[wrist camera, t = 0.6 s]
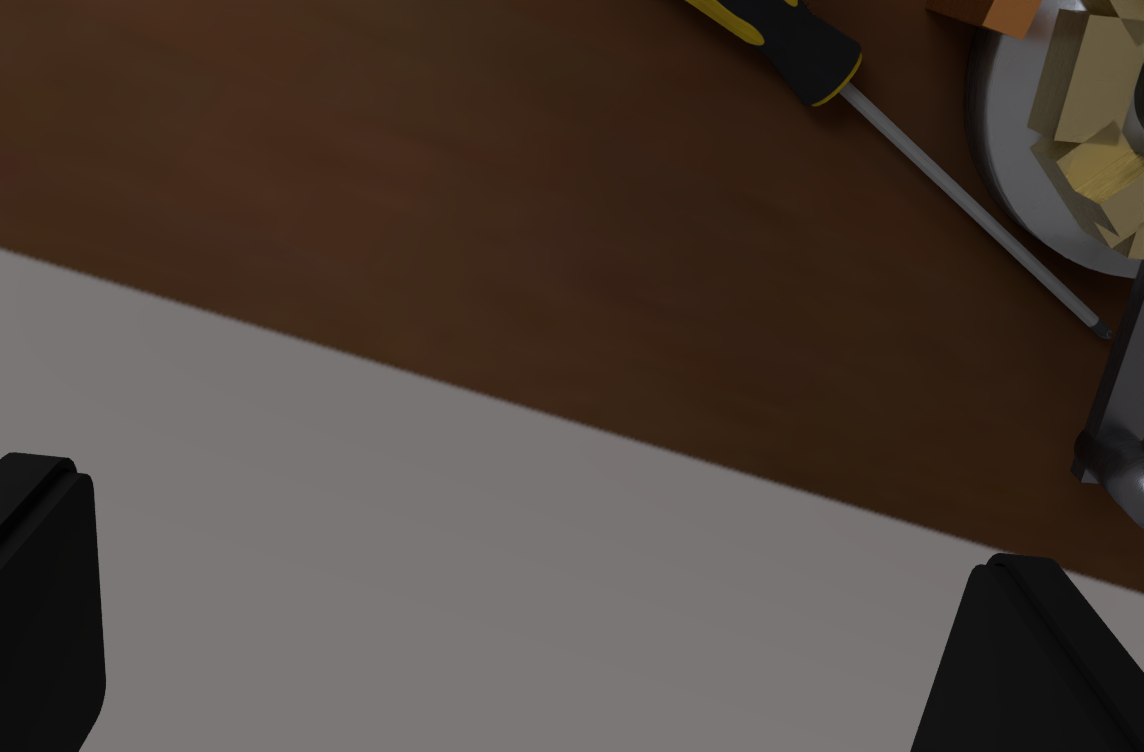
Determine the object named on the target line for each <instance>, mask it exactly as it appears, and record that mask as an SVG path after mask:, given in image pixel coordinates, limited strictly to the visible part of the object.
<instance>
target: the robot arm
mask: <svg viewBox="0 0 1144 752" xmlns="http://www.w3.org/2000/svg"><path fill="white" fill-rule="evenodd" d="M105 689H106V673H105V658H104V643H103V627H102V611H101V596H100V580H99V563H98V548H97V532H96V516H95V502H94V488H93V482H92V479H91V477H90V476H89V475H88V474H83V473H77V470H76V467H75V464H74V462H73V461H72V460H71V459H70V458H65V457H55V456H45V455H35V454H26V453H16V452H15V453H8V454H7V455H5V456H4V457H2V458H1V459H0V752H79V750H80V748H81V746H82V745H83V743H84V741H85V739H86V738H87V736H88V734H89V732H90V731H91V729H92V727H93V725H94V724H95V722H96V720H97V718H98V716H99V714H100V711H101V707H102V705H103V701H104V696H105ZM910 752H1144V672H1143V671H1142V670H1141V669H1140V667H1139V666H1138V665H1137V664H1136V662H1135V661H1134V660H1133V658H1132V657H1131V656H1130V655H1129V654H1128V652H1127V651H1126V650H1125V648H1124V647H1123V646H1122V644H1121V643H1120V642H1119V641H1118V639H1117V638H1116V637H1115V636H1114V634H1113V633H1112V632H1111V631H1110V629H1109V628H1108V627H1107V625H1106V624H1105V623H1104V622H1103V621H1102V619H1101V618H1100V617H1099V615H1098V614H1097V613H1096V612H1095V610H1094V609H1093V608H1092V607H1091V605H1090V604H1089V603H1088V601H1087V600H1086V599H1085V598H1084V596H1083V595H1082V594H1081V593H1080V591H1079V590H1078V589H1077V588H1076V586H1075V585H1074V584H1073V583H1072V581H1071V580H1070V579H1069V577H1068V576H1067V575H1066V574H1065V572H1064V571H1063V570H1062V569H1061V567H1060V566H1059V565H1058V564H1057V563H1056V562H1055V561H1054V560H1053V559H1049V558H1044V557H1034V556H1024V555H1014V554H1005V553H997V554H995V555H993V556H992V557H991V558H990V559H989V560H988V562H987V564H986V565H982V564H980V565H977V566H975V568H974V569H973V570H972V572H971V574H970V576H969V578H968V581H967V584H966V588H965V590H964V593H963V596H962V599H961V602H960V606H959V608H958V612H957V614H956V617H955V620H954V623H953V626H952V629H951V632H950V635H949V638H948V641H947V644H946V647H945V650H944V653H943V656H942V659H941V662H940V665H939V668H938V671H937V674H936V677H935V680H934V683H933V686H932V689H931V692H930V695H929V698H928V700H927V703H926V706H925V709H924V712H923V715H922V718H921V721H920V725H919V727H918V731H917V733H916V736H915V739H914V742H913V745H912V748H911V751H910Z"/></svg>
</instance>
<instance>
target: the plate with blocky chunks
mask: <svg viewBox="0 0 1144 752" xmlns="http://www.w3.org/2000/svg"><path fill="white" fill-rule="evenodd" d="M1059 8H1062V9H1072V10H1082V11H1087V9H1086V7H1085V6H1084V4H1083V2H1082V1H1081V0H929V1H928V4H927V6H926V9H929V10H931V11H934V12H937V13H939V14H942V15H945V16H948V17H950V18H953V19H956V20H958V21H961V22H965V23H968V24H971V25H974V26H978V28H977V31H976V34H975V37H974V41H973V44H972V47H971V50H970V54H969V59H968V65H967V70H966V76H965V85H964V103H963V107H964V120H965V131H966V135H967V140H968V144H969V149H970V153H971V156H972V159H973V161H974V164H975V167H976V169H977V172H978V174H979V176H980V178H981V180H982V181H983V183H984V185H985V187H986V189H987V190H988V192H989V194H990V195H991V196H992V198H993V199H994V200H995V201H996V203H997V204H998V205H999V206H1000V208H1001V209H1002V210H1003V211H1004V212H1005V213H1006V214H1007V215H1008V216H1009V217H1010V218H1011V219H1012V220H1014V221H1015V222H1016V223H1017V224H1018V225H1019V226H1021V227H1022V228H1023V229H1025V230H1026V231H1028V232H1029V233H1031V234H1032V235H1033V236H1035V237H1036V238H1038V239H1039V240H1041V241H1042V242H1043V243H1045V244H1046V245H1048V246H1049V247H1051V248H1052V249H1054V250H1055V251H1057V252H1058V253H1060V254H1061V255H1063V256H1064V257H1066V258H1067V259H1069V260H1071V261H1073V262H1076V263H1078V264H1080V265H1082V266H1084V267H1086V268H1089V269H1092V270H1096V271H1099V272H1102V273H1106V274H1109V275H1115V276H1122V277H1128V278H1136V275H1137V272H1138V269H1139V266H1140V263H1141V260H1142V259H1132V258H1127V257H1125V256H1123V255H1122V254H1120V253H1119V252H1117V251H1115V250H1114V249H1112V248H1109V247H1107V246H1106V245H1104V244H1103V243H1101V242H1099V241H1098V240H1096V239H1095V238H1093V237H1092V236H1090V235H1088V234H1087V233H1085V232H1084V231H1082V230H1081V228H1080V227H1079V225H1078V224H1077V222H1076V220H1075V219H1074V217H1073V216H1072V214H1071V213H1070V211H1069V209H1068V208H1067V206H1066V205H1065V203H1064V202H1063V200H1062V199H1061V197H1060V195H1059V194H1058V192H1057V191H1056V189H1055V188H1054V186H1053V184H1052V183H1051V181H1050V180H1049V178H1048V177H1047V175H1046V174H1045V172H1044V170H1043V169H1042V167H1041V166H1040V164H1039V163H1038V161H1037V159H1036V158H1035V156H1034V155H1033V153H1032V152H1031V150H1030V148H1029V147H1031V146H1032V145H1033V144H1035V143H1036V142H1037V141H1039V140H1040V139H1042V138H1043V137H1044V135H1042V134H1040V133H1038V132H1036V131H1033V130H1031V129H1029V128H1027V124H1028V120H1029V117H1030V113H1031V109H1032V106H1033V102H1034V98H1035V95H1036V91H1037V87H1038V84H1039V80H1040V77H1041V73H1042V69H1043V66H1044V62H1045V58H1046V55H1047V51H1048V47H1049V44H1050V40H1051V36H1052V33H1053V29H1054V26H1055V22H1056V18H1057V15H1058V11H1059ZM1121 132H1122V133H1123V135H1124V137H1125V138H1126V140H1127V142H1128V144H1129V145H1130V147H1131V149H1132V150H1135V151H1137V152H1139V153H1142V154H1144V61H1143V64H1142V67H1141V70H1140V74H1139V77H1138V80H1137V83H1136V86H1135V90H1134V93H1133V96H1132V99H1131V102H1130V106H1129V109H1128V112H1127V115H1126V118H1125V122H1124V125H1123V128H1122V131H1121Z"/></svg>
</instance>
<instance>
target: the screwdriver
mask: <svg viewBox="0 0 1144 752" xmlns="http://www.w3.org/2000/svg"><path fill="white" fill-rule="evenodd" d="M686 1H687V2H688V3H690V4H691V5H693V6H694V7H696V8H697V9H699V10H700V11H702V12H703V13H705V14H706V15H707V16H709V17H710V18H712V19H713V20H715V21H716V22H718V23H719V24H721V25H722V26H724V27H725V28H726V29H728V30H729V31H731V32H732V33H734V34H735V35H737V36H738V37H740V38H741V39H743V40H744V41H746V42H747V43H749V44H750V45H752V46H753V47H755V48H756V49H758V50H759V51H761V52H762V53H763V54H765V55H766V56H768V58H769V59H770V60H771V62H772V63H773V65H774V66H775V67H776V69H777V70H778V71H779V73H780V74H781V75H782V77H783V78H784V79H785V81H786V82H787V83H788V85H789V86H790V87H791V89H792V90H793V91H794V93H795V94H796V96H797V97H798V98H799V100H800V101H801V102H802V104H803V105H805V106H810V105H811V106H819V105H822V104H823V103H825V102H827V101H828V100H830V99H831V98H832V97H834V96H835V95H836V94H837V93H838V92H839V93H840V94H841V95H842V96H843V97H844V98H845V99H846V100H847V101H849V102H850V103H851V104H852V105H853V106H854V107H855V108H856V109H857V110H858V111H859V112H860V113H861V114H862V115H863V116H865V117H866V118H867V119H868V120H869V121H870V122H871V123H872V124H873V125H874V126H875V127H876V128H877V129H878V130H879V131H881V132H882V133H883V134H884V135H885V136H886V137H887V138H888V139H889V140H890V141H891V142H892V143H893V144H894V145H895V146H896V147H898V148H899V149H900V150H901V151H902V152H903V153H904V154H905V155H906V156H907V157H908V158H909V159H910V160H911V161H912V162H914V163H915V164H916V165H917V166H918V167H919V168H920V169H921V170H922V171H923V172H924V173H925V174H926V175H927V176H928V177H930V178H931V179H932V180H933V181H934V182H935V183H936V184H937V185H938V186H939V187H940V188H941V189H942V190H943V191H944V192H946V193H947V194H948V195H949V196H950V197H951V198H952V199H953V200H954V201H955V202H956V203H957V204H958V205H959V206H960V207H962V208H963V209H964V210H965V211H966V212H967V213H968V214H969V215H970V216H971V217H972V218H973V219H974V220H975V221H976V222H977V223H979V224H980V225H981V226H982V227H983V228H984V229H985V230H986V231H987V232H988V233H989V234H990V235H991V236H992V237H993V238H995V239H996V240H997V241H998V242H999V243H1000V244H1001V245H1002V246H1003V247H1004V248H1005V249H1006V250H1007V251H1008V252H1009V253H1011V254H1012V255H1013V256H1014V257H1015V258H1016V259H1017V260H1018V261H1019V262H1020V263H1021V264H1022V265H1023V266H1024V267H1025V268H1027V269H1028V270H1029V271H1030V272H1031V273H1032V274H1033V275H1034V276H1035V277H1036V278H1037V279H1038V280H1039V281H1040V282H1041V283H1043V284H1044V285H1045V286H1046V287H1047V288H1048V289H1049V290H1050V291H1051V292H1052V293H1053V294H1054V295H1055V296H1056V297H1057V298H1058V299H1060V300H1061V301H1062V302H1063V303H1064V304H1065V305H1066V306H1067V307H1068V308H1069V309H1070V310H1071V311H1072V312H1073V313H1074V314H1076V315H1077V316H1078V317H1079V318H1080V319H1081V320H1082V321H1083V322H1084V323H1085V324H1086V325H1087V326H1088V327H1089V328H1090V329H1092V330H1093V331H1094V332H1095V333H1096V334H1097V335H1098V336H1099V337H1101V338H1103V339H1109V338H1111V335H1112V331H1111V330H1110V328H1109V327H1108V326H1107V325H1106V324H1105V323H1104V322H1103V321H1102V320H1101V319H1099V318H1098V317H1097V316H1096V315H1095V314H1094V313H1093V312H1092V311H1091V310H1090V309H1089V308H1088V307H1087V306H1086V305H1085V304H1084V303H1083V302H1082V301H1080V300H1079V299H1078V298H1077V297H1076V296H1075V295H1074V294H1073V293H1072V292H1071V291H1070V290H1069V289H1068V288H1067V287H1066V286H1065V285H1064V284H1063V283H1061V282H1060V281H1059V280H1058V279H1057V278H1056V277H1055V276H1054V275H1053V274H1052V273H1051V272H1050V271H1049V270H1048V269H1047V268H1046V267H1045V266H1044V265H1042V264H1041V263H1040V262H1039V261H1038V260H1037V259H1036V258H1035V257H1034V256H1033V255H1032V254H1031V253H1030V252H1029V251H1028V250H1027V249H1026V248H1025V247H1023V246H1022V245H1021V244H1020V243H1019V242H1018V241H1017V240H1016V239H1015V238H1014V237H1013V236H1012V235H1011V234H1010V233H1009V232H1008V231H1007V230H1005V229H1004V228H1003V227H1002V226H1001V225H1000V224H999V223H998V222H997V221H996V220H995V219H994V218H993V217H992V216H991V215H990V214H989V213H988V212H986V211H985V210H984V209H983V208H982V207H981V206H980V205H979V204H978V203H977V202H976V201H975V200H974V199H973V198H972V197H971V196H970V195H969V194H967V193H966V192H965V191H964V190H963V189H962V188H961V187H960V186H959V185H958V184H957V183H956V182H955V181H954V180H953V179H952V178H951V177H950V176H948V175H947V174H946V173H945V172H944V171H943V170H942V169H941V168H940V167H939V166H938V165H937V164H936V163H935V162H934V161H933V160H932V159H931V158H929V157H928V156H927V155H926V154H925V153H924V152H923V151H922V150H921V149H920V148H919V147H918V146H917V145H916V144H915V143H914V142H913V141H912V140H910V139H909V138H908V137H907V136H906V135H905V134H904V133H903V132H902V131H901V130H900V129H899V128H898V127H897V126H896V125H895V124H894V123H892V122H891V121H890V120H889V119H888V118H887V117H886V116H885V115H884V114H883V113H882V112H881V111H880V110H879V109H878V108H877V107H876V106H875V105H873V104H872V103H871V102H870V101H869V100H868V99H867V98H866V97H865V96H864V95H863V94H862V93H861V92H860V91H859V90H858V89H857V88H856V87H854V86H853V85H852V84H851V83H850V82H849V80H850V79H851V78H852V77H853V75H854V74H855V72H856V71H857V69H858V67H859V65H860V63H861V60H862V54H861V49H862V48H861V46H860V44H859V43H857V42H856V41H854V40H852V39H851V38H849V37H848V36H846V35H845V34H843V33H841V32H840V31H838V30H837V29H835V28H834V27H832V26H830V25H829V24H827V23H826V22H824V21H823V20H821V19H819V18H818V17H816V16H815V15H813V14H811V12H810V11H809V10H808V8H807V7H806V5H805V4H804V3H803V1H802V0H686Z"/></svg>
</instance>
